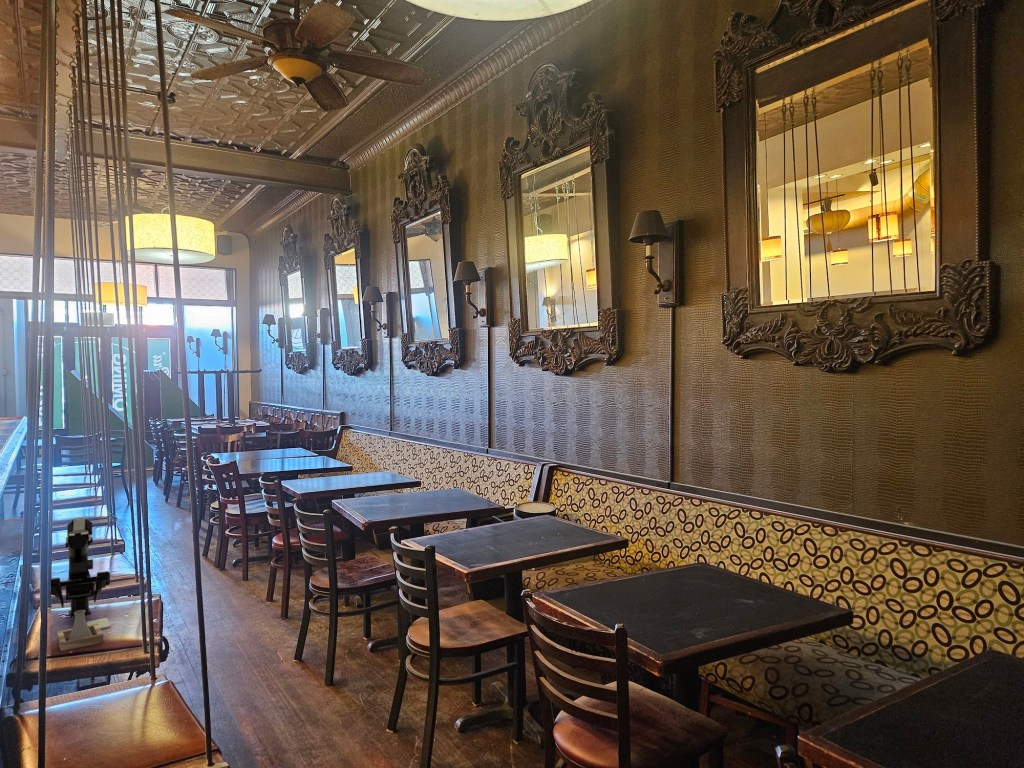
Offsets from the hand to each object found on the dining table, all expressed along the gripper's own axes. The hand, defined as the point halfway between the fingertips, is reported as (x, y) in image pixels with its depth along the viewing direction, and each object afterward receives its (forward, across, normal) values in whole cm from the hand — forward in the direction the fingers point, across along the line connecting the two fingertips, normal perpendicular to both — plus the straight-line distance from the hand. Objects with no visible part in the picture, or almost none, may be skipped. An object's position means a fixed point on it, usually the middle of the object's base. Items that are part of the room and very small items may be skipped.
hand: (79, 604), depth 233 cm
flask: (+11, 0, +5) cm, 12 cm away
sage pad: (+3, +4, +13) cm, 14 cm away
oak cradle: (+11, 0, +5) cm, 12 cm away
